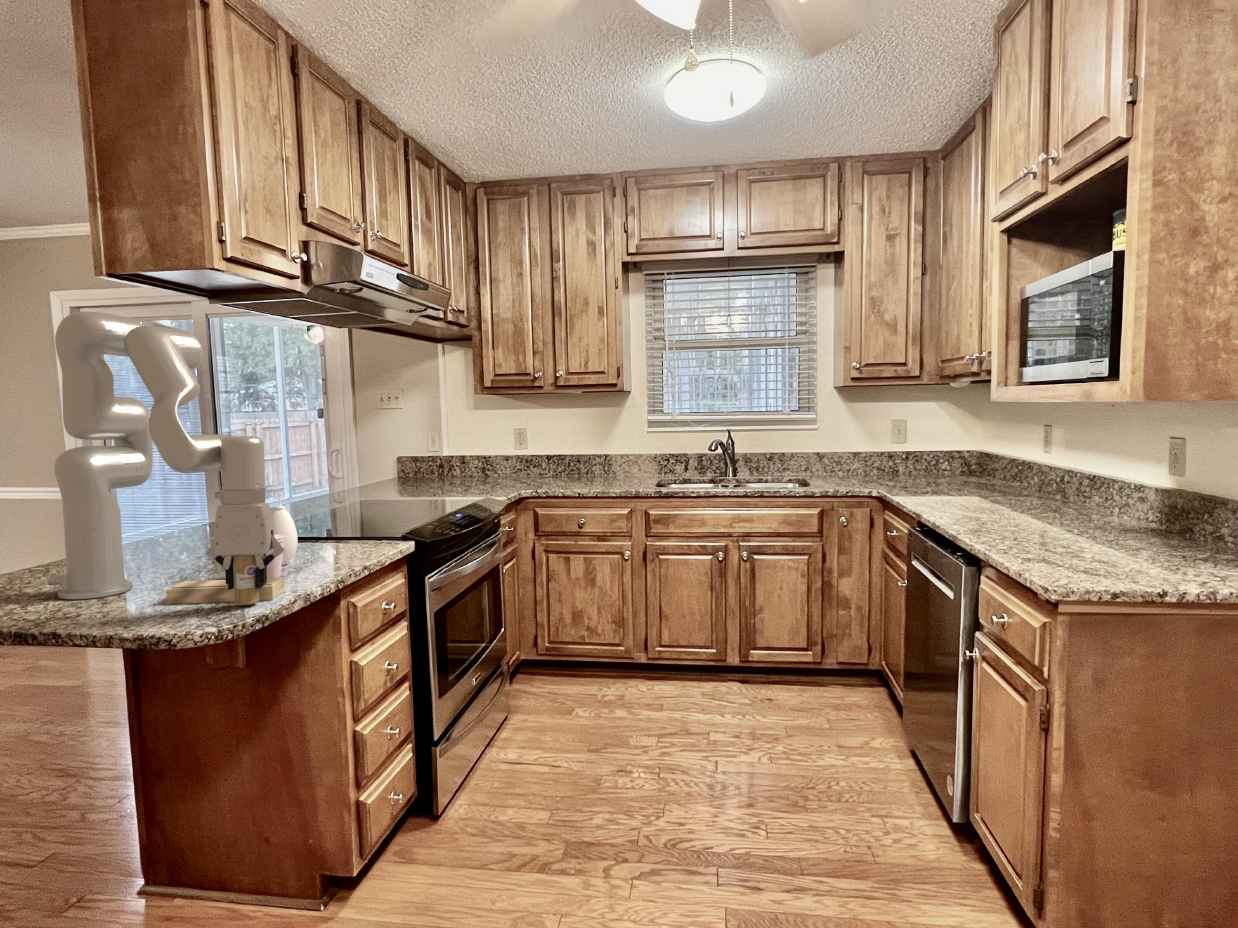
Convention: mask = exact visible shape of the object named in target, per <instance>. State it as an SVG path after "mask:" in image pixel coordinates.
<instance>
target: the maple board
mask: <svg viewBox="0 0 1238 928" xmlns="http://www.w3.org/2000/svg"><path fill="white" fill-rule="evenodd" d="M234 590H235V589H234V588H233V589H228V584H226V579H213V580H212V579H211V580H208V579H207V580H206V579H205V580H183V581H181V582H179V583H177V584H175V585H174V586H171V587H168V588H167V589H166V605H176V604H177V605H180V604H182V605H183V604H202V603H203V604H204V603H210V604H211V603H234V600H235V591H234ZM284 592H285V578H284V577H276V578H267V582H266V583H265V585H264V586H263V587H261V588H259V601H258V602H260V601H274V600H275V599H276V598H278V597H279V596H280V595H282V594H283V593H284Z"/></svg>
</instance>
